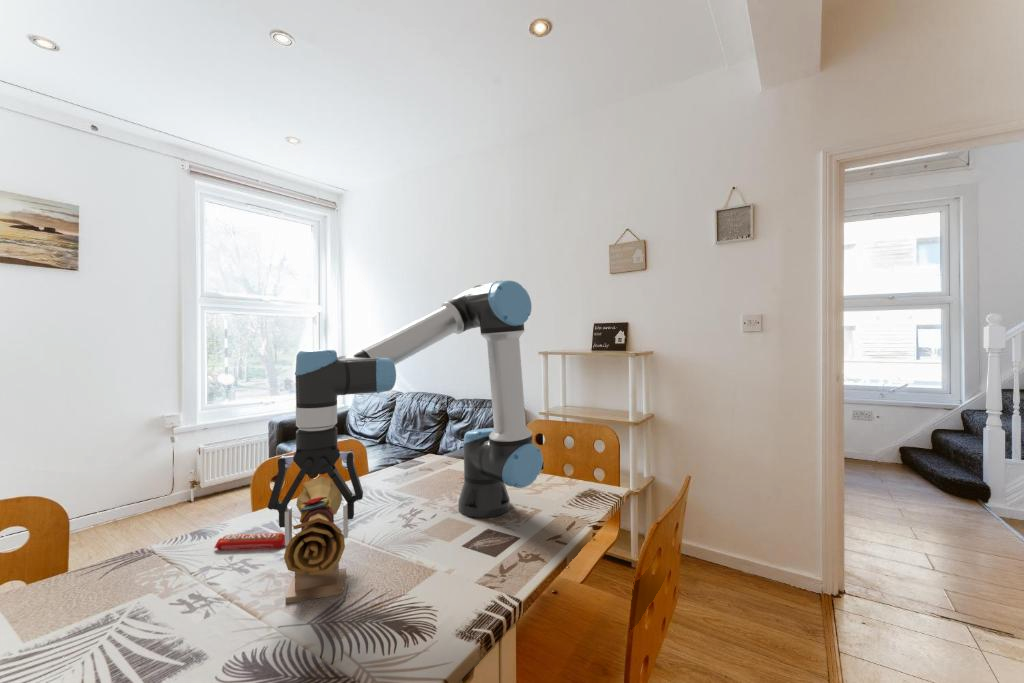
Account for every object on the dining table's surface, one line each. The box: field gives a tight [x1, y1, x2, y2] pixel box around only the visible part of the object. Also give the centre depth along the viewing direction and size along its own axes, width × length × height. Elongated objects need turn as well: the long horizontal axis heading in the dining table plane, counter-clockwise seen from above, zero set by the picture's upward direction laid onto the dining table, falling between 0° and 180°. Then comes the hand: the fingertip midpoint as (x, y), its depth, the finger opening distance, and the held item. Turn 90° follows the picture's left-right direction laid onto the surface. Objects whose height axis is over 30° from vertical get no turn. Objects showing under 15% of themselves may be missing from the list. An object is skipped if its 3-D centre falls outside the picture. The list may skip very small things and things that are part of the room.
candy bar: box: [213, 532, 285, 552], centre depth 103 cm, size 16×4×3 cm, turn 95°
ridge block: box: [285, 561, 347, 604], centre depth 86 cm, size 10×8×8 cm
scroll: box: [283, 476, 346, 575], centre depth 86 cm, size 27×10×10 cm, turn 23°
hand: (317, 538), depth 86 cm, fingers closed on scroll, 10 cm apart
